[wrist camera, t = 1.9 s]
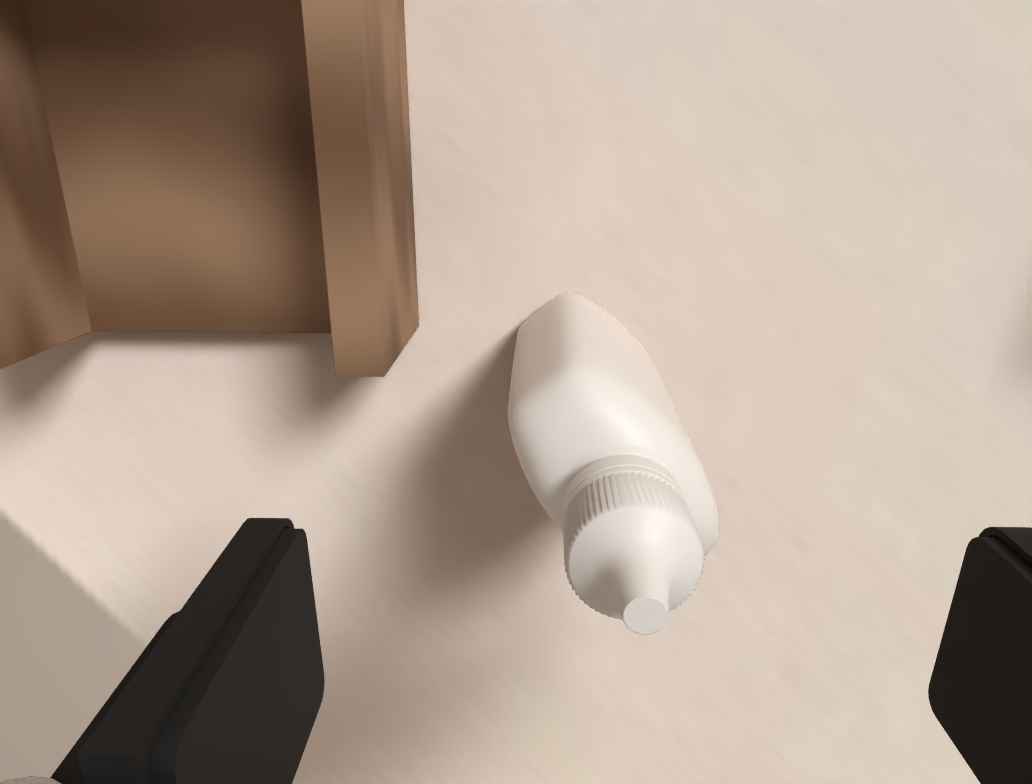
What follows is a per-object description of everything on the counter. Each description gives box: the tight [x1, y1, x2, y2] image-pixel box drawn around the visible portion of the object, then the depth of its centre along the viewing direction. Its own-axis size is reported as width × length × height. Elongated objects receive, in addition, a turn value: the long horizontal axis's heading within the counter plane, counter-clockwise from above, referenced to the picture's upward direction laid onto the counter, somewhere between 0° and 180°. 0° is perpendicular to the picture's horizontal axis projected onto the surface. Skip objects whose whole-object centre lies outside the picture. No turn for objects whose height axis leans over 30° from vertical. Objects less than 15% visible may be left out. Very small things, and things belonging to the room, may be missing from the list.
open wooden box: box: [0, 0, 419, 377], centre depth 18 cm, size 11×11×5 cm
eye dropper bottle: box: [508, 293, 719, 634], centre depth 16 cm, size 4×6×12 cm
